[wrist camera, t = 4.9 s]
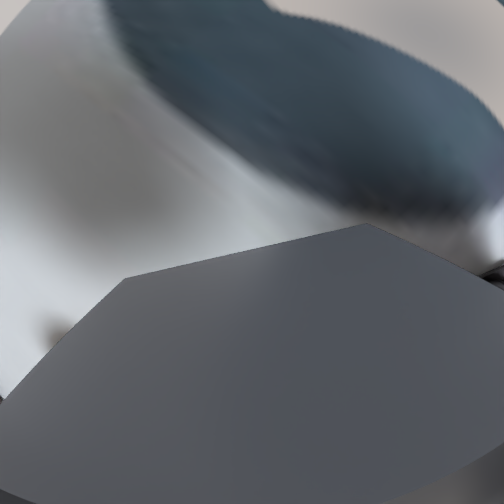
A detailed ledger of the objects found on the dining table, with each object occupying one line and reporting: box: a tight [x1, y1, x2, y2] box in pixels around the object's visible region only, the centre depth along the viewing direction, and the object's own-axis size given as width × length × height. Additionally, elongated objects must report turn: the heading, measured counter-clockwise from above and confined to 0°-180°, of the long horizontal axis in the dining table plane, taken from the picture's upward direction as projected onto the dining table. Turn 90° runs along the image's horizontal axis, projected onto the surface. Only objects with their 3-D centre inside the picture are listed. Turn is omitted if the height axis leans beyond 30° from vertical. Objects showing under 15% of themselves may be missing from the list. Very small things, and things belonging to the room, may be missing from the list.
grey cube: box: [0, 223, 504, 504], centre depth 6 cm, size 8×8×8 cm
